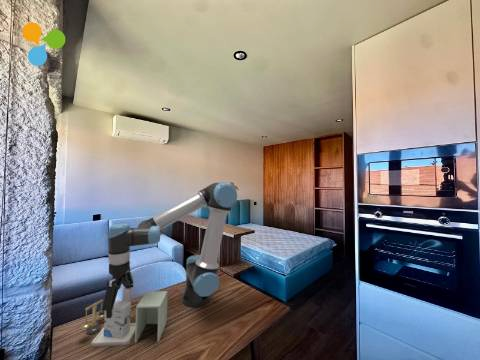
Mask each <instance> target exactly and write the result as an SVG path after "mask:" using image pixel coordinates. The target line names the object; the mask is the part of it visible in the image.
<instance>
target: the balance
mask: <svg viewBox="0 0 480 360" xmlns="http://www.w3.org/2000/svg"><path fill="white" fill-rule="evenodd" d="M103 303H104V299H100V300H98V301H96V302H95V303H92V304H91V305H89V306H87V307H85V310H84V311H85V321H84V322H82V323H81V324H79V330H86V335H88V336H91V335H94V334H95V335H96V334H97V333H98V332H99V331H101V330H102V325H101V324H100V323H97V319H103V318H105V311H102V307H103ZM99 304H101V305H100V307H101V308H99V309H98V313H97V306H98V305H99ZM91 309H92V313H91V314H92V318H91V320H87V319H88V311H89V310H91ZM99 333H100V332H99Z"/></svg>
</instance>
